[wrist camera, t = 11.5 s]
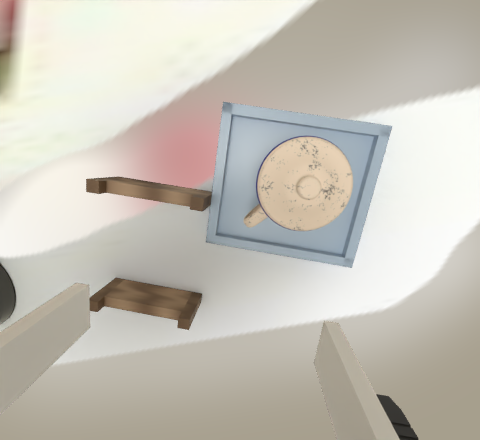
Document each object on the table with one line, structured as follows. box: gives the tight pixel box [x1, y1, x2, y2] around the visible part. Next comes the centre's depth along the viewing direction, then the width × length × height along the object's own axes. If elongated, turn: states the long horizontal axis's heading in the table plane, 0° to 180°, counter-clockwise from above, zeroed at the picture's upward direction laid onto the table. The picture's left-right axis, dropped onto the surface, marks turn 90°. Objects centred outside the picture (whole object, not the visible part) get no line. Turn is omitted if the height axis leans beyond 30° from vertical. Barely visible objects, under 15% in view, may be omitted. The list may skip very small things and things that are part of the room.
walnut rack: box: [86, 177, 212, 330], centre depth 32 cm, size 14×18×6 cm
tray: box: [206, 102, 392, 268], centre depth 31 cm, size 20×18×2 cm
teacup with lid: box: [243, 136, 353, 231], centre depth 25 cm, size 12×9×12 cm
